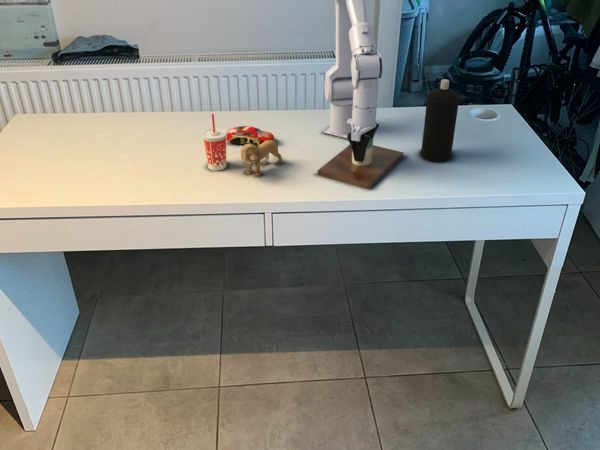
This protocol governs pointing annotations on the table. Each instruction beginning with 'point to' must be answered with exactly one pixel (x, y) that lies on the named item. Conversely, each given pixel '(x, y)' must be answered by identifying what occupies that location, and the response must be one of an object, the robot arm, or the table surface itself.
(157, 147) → the table surface
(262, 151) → the lion figurine
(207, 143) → the beverage cup
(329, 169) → the walnut board
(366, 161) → the cream jar
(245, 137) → the race car
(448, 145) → the aerosol can
